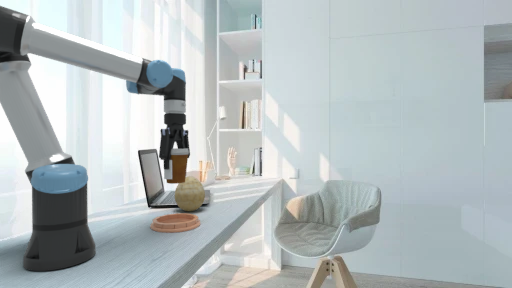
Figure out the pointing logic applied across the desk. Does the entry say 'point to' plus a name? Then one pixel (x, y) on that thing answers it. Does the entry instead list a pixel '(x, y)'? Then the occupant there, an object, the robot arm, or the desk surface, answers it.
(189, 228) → the terracotta plant saucer
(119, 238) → the desk surface
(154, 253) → the desk surface
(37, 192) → the robot arm
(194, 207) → the fossilized egg
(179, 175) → the disposable coffee cup
